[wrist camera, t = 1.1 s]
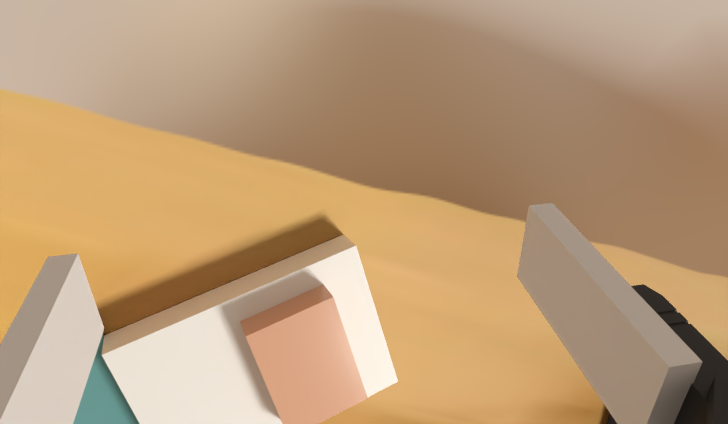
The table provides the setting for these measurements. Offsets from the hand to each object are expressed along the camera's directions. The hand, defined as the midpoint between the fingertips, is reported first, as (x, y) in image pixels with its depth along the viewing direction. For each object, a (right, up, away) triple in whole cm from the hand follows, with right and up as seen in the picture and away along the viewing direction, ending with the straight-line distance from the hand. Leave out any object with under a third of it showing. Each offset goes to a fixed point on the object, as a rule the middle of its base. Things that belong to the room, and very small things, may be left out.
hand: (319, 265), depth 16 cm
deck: (-8, -10, +30) cm, 32 cm away
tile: (-4, -10, +28) cm, 30 cm away
